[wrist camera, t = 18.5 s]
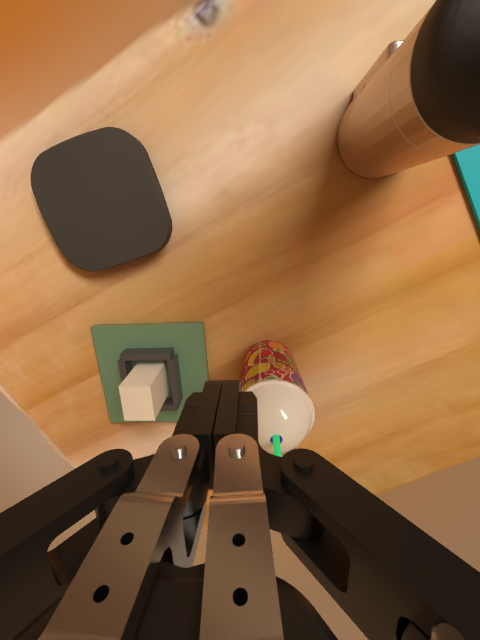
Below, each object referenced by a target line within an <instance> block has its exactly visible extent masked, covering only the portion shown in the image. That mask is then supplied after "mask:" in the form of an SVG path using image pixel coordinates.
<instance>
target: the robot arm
mask: <svg viewBox="0 0 480 640" xmlns="http://www.w3.org/2000/svg"><path fill="white" fill-rule="evenodd" d="M337 141H338V149H339V152H340V155H341V158H342V160H343V161H344V163H345V165H346V166H347V167H348V168H349V169H350V170H351V171H352V172H354V173H356V174H357V175H359V176H362V177H366V178H379V177H384V176H388V175H391V174H394V173H397V172H399V171H402V170H405V169H408V168H411V167H414V166H417V165H420V164H423V163H426V162H429V161H432V160H435V159H438V158H441V157H444V156H447V155H450V154H453V153H456V152H459V151H462V150H465V149H468V148H471V147H474V146H477V145H480V0H437V1H436V2H435V3H434V4H433V6H432V7H431V8H430V9H429V10H428V12H427V13H426V14H425V15H424V16H423V18H422V19H421V20H420V21H419V22H418V24H417V25H416V26H415V27H414V29H413V30H412V31H411V32H410V33H409V35H408V36H407V37H406V38H405V39H404V40H399V41H394V42H391V43H390V44H389V45H388V46H387V47H386V49H385V50H384V51H383V53H382V54H381V55H380V57H379V58H378V59H377V60H376V62H375V63H374V64H373V66H372V67H371V68H370V70H369V71H368V72H367V74H366V75H365V76H364V77H363V79H362V80H361V81H360V83H359V84H358V85H357V87H356V88H355V89H354V91H353V99H352V102H351V104H350V105H349V107H348V108H347V110H346V111H345V113H344V115H343V117H342V119H341V121H340V125H339V129H338V140H337ZM208 489H213V496H211V497H210V503H209V516H208V530H207V544H206V557H205V563H204V564H200V565H197V566H193V567H192V565H193V561H194V557H195V553H196V549H197V545H198V541H199V537H200V533H201V529H202V525H203V521H204V517H205V513H206V499H207V493H208ZM93 510H95V513H96V516H97V517H96V518H95V519H94V520H92V521H91V522H90V523H88V524H87V525H86V526H84V527H83V528H81V529H80V530H79V531H77V532H76V533H75V534H73V535H72V536H71V537H69V538H68V539H67V540H65V541H64V542H63V543H61V544H60V545H58V546H57V547H56V548H54V549H53V550H51V551H49V552H47V550H48V547H49V545H50V544H51V542H52V541H53V540H54V539H55V538H56V537H57V536H58V535H60V534H61V533H62V532H64V531H65V530H67V529H68V528H70V527H71V526H72V525H74V524H75V523H76V522H78V521H79V520H81V519H82V518H83V517H85V516H86V515H88V514H89V513H90V512H92V511H93ZM270 529H272V530H274V531H277V532H280V533H281V535H282V538H283V540H284V542H285V543H286V545H287V546H288V547H289V548H290V549H291V550H292V551H293V553H294V554H295V555H296V556H297V557H298V558H299V560H300V561H301V562H302V563H303V564H304V565H305V567H306V568H307V569H308V570H309V571H310V572H311V573H312V575H313V576H314V577H315V578H316V579H317V580H318V582H319V583H320V584H321V585H322V586H323V587H324V588H325V590H326V591H327V592H328V593H329V594H330V595H331V597H332V598H333V599H334V600H335V601H336V602H337V603H338V605H339V606H340V607H341V608H342V609H343V610H344V612H345V613H346V614H347V615H348V616H349V617H350V618H351V620H352V621H353V622H354V623H355V624H356V625H357V626H358V628H359V629H360V630H361V631H362V632H363V633H364V635H365V636H366V637H367V638H368V639H369V640H480V572H478V571H477V570H476V569H474V568H473V567H471V566H470V565H469V564H467V563H466V562H465V561H463V560H462V559H461V558H459V557H458V556H456V555H455V554H454V553H452V552H451V551H450V550H448V549H447V548H446V547H444V546H443V545H441V544H440V543H439V542H437V541H436V540H435V539H433V538H432V537H431V536H429V535H428V534H427V533H425V532H424V531H422V530H421V529H420V528H418V527H417V526H416V525H414V524H413V523H412V522H410V521H409V520H407V519H406V518H405V517H403V516H402V515H401V514H399V513H398V512H397V511H395V510H394V509H393V508H391V507H390V506H388V505H387V504H386V503H384V502H383V501H382V500H380V499H379V498H378V497H376V496H375V495H373V494H372V493H371V492H369V491H368V490H367V489H365V488H364V487H363V486H361V485H360V484H358V483H357V482H356V481H354V480H353V479H352V478H350V477H349V476H348V475H346V474H345V473H344V472H342V471H341V470H339V469H338V468H337V467H335V466H334V465H333V464H331V463H330V462H329V461H327V460H326V459H324V458H323V457H322V456H320V455H319V454H317V453H316V452H314V451H311V450H308V449H293V450H290V451H288V452H287V453H285V454H284V455H283V457H279V456H275V455H272V454H270V453H268V452H266V451H265V450H264V449H263V448H262V447H261V446H260V444H259V442H258V408H257V397H256V396H255V394H254V393H253V392H252V391H241V383H240V380H224V381H222V380H215V381H205V384H204V388H203V391H202V392H193V393H192V394H191V395H190V396H189V397H188V398H187V399H186V401H185V404H184V406H183V409H182V412H181V415H180V417H179V419H178V422H177V425H176V427H175V430H174V433H173V435H172V436H171V437H169V438H167V439H166V440H164V441H163V442H162V443H161V444H160V446H159V447H158V449H157V451H156V453H155V454H153V455H150V456H147V457H143V458H139V459H135V460H133V459H132V455H131V453H130V452H128V451H127V450H124V449H113V450H109V451H106V452H103V453H101V454H99V455H98V456H96V457H94V458H93V459H91V460H89V461H88V462H86V463H84V464H83V465H81V466H79V467H78V468H76V469H74V470H72V471H71V472H69V473H68V474H66V475H64V476H63V477H61V478H59V479H57V480H56V481H54V482H52V483H51V484H49V485H47V486H46V487H44V488H42V489H41V490H39V491H37V492H35V493H34V494H32V495H30V496H29V497H27V498H25V499H24V500H22V501H20V502H19V503H17V504H15V505H14V506H12V507H10V508H8V509H7V510H5V511H3V512H2V513H0V640H338V639H337V638H336V636H335V635H334V634H333V632H332V631H331V630H330V628H329V627H328V626H327V624H326V623H325V621H324V620H323V619H322V618H321V616H320V615H319V613H318V612H317V611H316V609H315V608H314V607H313V606H312V604H311V603H310V602H309V601H308V600H307V599H306V598H305V597H304V596H303V595H302V593H300V592H299V591H298V590H297V589H296V588H294V587H293V586H292V585H290V584H289V583H287V582H286V581H284V580H283V579H280V578H278V577H276V574H275V567H274V559H273V551H272V543H271V535H270Z"/></svg>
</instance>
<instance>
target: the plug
mask: <svg viewBox="0 0 480 640" xmlns="http://www.w3.org/2000/svg"><path fill="white" fill-rule="evenodd" d="M119 393H120V398H121V404H122V410H123V415H124V421H155V420H156V418H157V416H158V413H159V411H160V409H161V407H162V405H163V403H164V401H165V399H166V397H167V395H168V393H169V384H168V376H167V367H166V361H147V362H138V363H137V364H136V366H135V367H134V368H133V369H132V371H131V372H130V373H129V374H128V375H127V377H126V378H125V379H124V380H123V382H122V383H121V384H120V385H119Z"/></svg>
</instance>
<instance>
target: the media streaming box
mask: <svg viewBox="0 0 480 640" xmlns="http://www.w3.org/2000/svg"><path fill="white" fill-rule="evenodd" d="M31 186H32V190H33V193H34V196H35V198H36V201H37V204H38V206H39V209H40V211H41V213H42V216H43V218H44V220H45V222H46V224H47V226H48V228H49V230H50V232H51V234H52V236H53V238H54V239H55V241H56V243H57V245H58V246H59V248H60V250H61V251H62V253H63V254H64V256H65V257H66V258H67V259H68V260H69V261H70V262H71V263H72V264H74V265H75V266H77V267H78V268H81V269H83V270H86V271H98V270H102V269H105V268H109V267H112V266H116V265H119V264H122V263H125V262H128V261H131V260H134V259H137V258H140V257H143V256H145V255H148V254H151V253H153V252H156V251H158V250H160V249H162V248H163V247H164V246H165V245H166V244H167V242H168V241H169V239H170V236H171V233H172V220H171V217H170V213H169V210H168V207H167V204H166V201H165V198H164V195H163V192H162V189H161V186H160V184H159V181H158V178H157V176H156V173H155V170H154V168H153V165H152V163H151V161H150V158H149V156H148V153H147V151H146V149H145V147H144V146H143V145H142V144H141V142H140V141H139V140H137V139H136V138H135V137H133V136H132V135H130V134H129V133H127V132H126V131H124V130H122V129H119V128H114V127H105V128H101V129H97V130H94V131H91V132H87V133H84V134H81V135H78V136H76V137H73V138H71V139H68V140H66V141H63V142H61V143H59V144H57V145H55V146H53V147H51V148H49V149H47V150H46V151H44V152H42V153H41V154H40V155H39V156H38V157H37V158H36V160H35V162H34V164H33V167H32V171H31Z"/></svg>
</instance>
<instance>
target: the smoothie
mask: <svg viewBox="0 0 480 640" xmlns="http://www.w3.org/2000/svg"><path fill="white" fill-rule="evenodd" d="M240 383H241V391H252V392H253V393H254V394H255V396H256V397H257V408H258V442H259V444H260V446H261V447H262V448H263V449H264V450H265V451H266V452H268V453H270V454H274V455H275V456H279V457H282V455H281V454H284V453H287V452H288V451H290V450H293V449H295V448H296V447H298V446H299V445H300V444H301V443H302V442H303V441H304V439H305V437H306V436H307V435H308V433H309V432H310V430H311V428H312V427H313V424H314V419H315V411H314V405H313V403H312V401H311V399H310V397H309V395H308V392H307V390H306V388H305V385H304V383H303V381H302V378H301V376H300V374H299V371H298V369H297V367H296V364H295V362H294V360H293V357H292V355H291V353H290V352H289V350H288V349H287V348H286V347H285V346H284V345H283V344H280V343H278V342H276V341H263V342H259V343H258V344H256V345H254V346H253V347H252V348H251V349H250V350H249V351H248V353H247V355H246V357H245V362H244V367H243V371H242V376H241V381H240Z"/></svg>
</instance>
